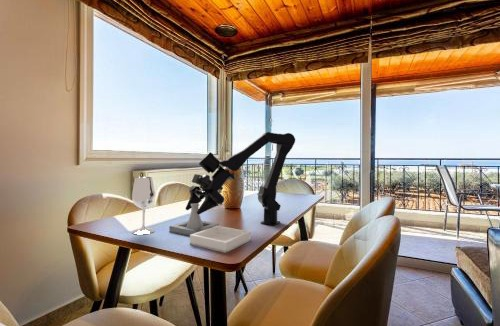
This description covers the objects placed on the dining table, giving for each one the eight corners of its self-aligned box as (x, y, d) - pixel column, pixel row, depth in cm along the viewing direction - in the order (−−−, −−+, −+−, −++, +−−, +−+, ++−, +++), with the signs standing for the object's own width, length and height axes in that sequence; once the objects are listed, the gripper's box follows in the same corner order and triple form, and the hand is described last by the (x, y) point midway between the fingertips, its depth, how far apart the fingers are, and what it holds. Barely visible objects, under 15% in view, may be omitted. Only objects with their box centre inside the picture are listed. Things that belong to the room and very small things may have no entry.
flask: (200, 233, 95) (200, 206, 95) (181, 232, 96) (181, 205, 96) (207, 228, 102) (207, 203, 102) (189, 227, 103) (190, 202, 103)
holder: (193, 224, 108) (193, 219, 108) (218, 229, 101) (219, 223, 101) (169, 231, 97) (169, 226, 97) (195, 237, 90) (195, 231, 90)
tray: (217, 233, 95) (217, 225, 95) (250, 240, 88) (250, 231, 88) (189, 244, 83) (189, 234, 83) (225, 253, 76) (225, 242, 76)
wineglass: (146, 227, 101) (147, 176, 101) (159, 231, 97) (159, 177, 97) (127, 232, 95) (127, 177, 95) (139, 236, 91) (140, 178, 90)
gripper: (193, 166, 109) (167, 194, 102) (217, 167, 94) (189, 201, 87) (210, 184, 114) (186, 212, 107) (235, 188, 99) (209, 221, 92)
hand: (191, 211), depth 98 cm, fingers open, 9 cm apart
